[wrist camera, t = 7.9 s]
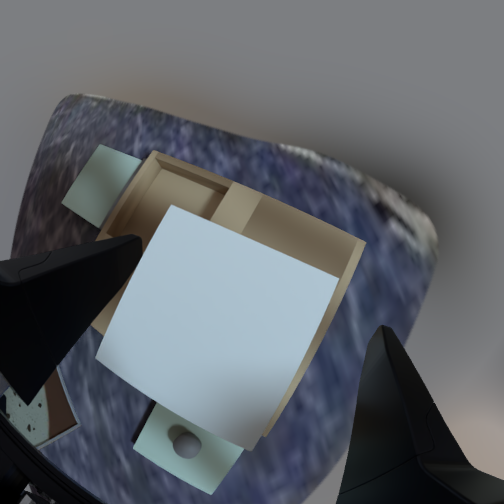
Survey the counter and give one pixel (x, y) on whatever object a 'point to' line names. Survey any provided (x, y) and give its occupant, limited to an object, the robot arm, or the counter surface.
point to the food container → (44, 412)
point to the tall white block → (215, 325)
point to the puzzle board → (228, 216)
